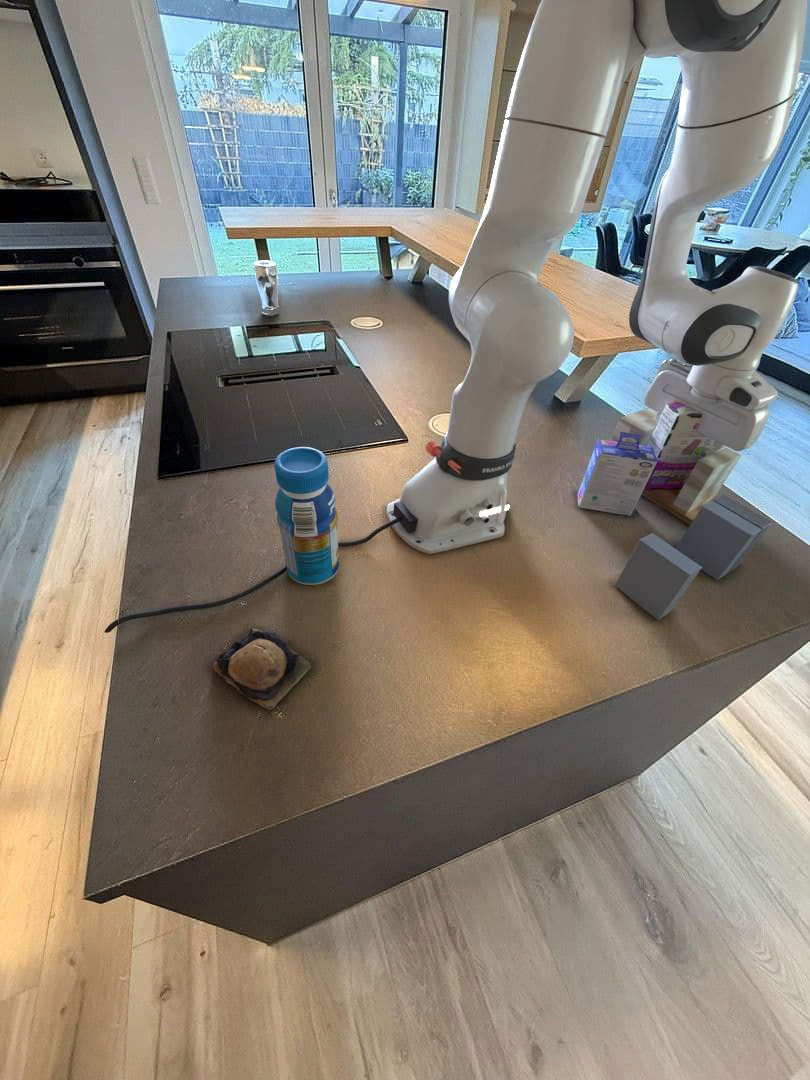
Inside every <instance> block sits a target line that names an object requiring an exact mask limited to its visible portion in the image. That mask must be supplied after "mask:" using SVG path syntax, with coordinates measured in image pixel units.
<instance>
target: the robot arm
mask: <svg viewBox="0 0 810 1080" xmlns="http://www.w3.org/2000/svg"><path fill="white" fill-rule="evenodd" d="M807 12H808V0H540V3H539V5H538V8H537V10H536V13H535V16H534V19H533V21H532V24H531V27H530V29H529V32H528V35H527V38H526V41H525V45H524V47H523V50H522V54H521V57H520V60H519V64H518V67H517V70H516V73H515V77H514V82H513V85H512V88H511V93H510V95H509V101H508V105H507V109H506V114H505V116H504V117H505V119H504V123H503V127H502V132H501V137H500V142H499V146H498V150H497V155H496V160H495V164H494V167H493V173H492V177H491V183H490V187H489V191H488V195H487V198H486V202H485V206H484V209H483V213H482V216H481V218H480V221H479V224H478V227H477V230H476V232H475V234H474V237H473V240H472V242H471V245H470V248H469V249H468V251H467V255H466V258H465V259H464V263H463V264H462V266H461V267H460V268H459V269H458V270H457V272H456V273H455V274H454V276H453V277H452V280H451V282H450V285H449V289H448V305H449V309H450V314H451V316H452V318H453V322H454V324H455V327H456V328H457V329H458V331H459V332H460V333H461V334H462V335H463V337H464V338H465V339H466V340H467V341H468V342H469V345H470V349H471V359H470V363H469V367H468V369H467V372H466V375H465V376H464V379H463V381H462V382H461V383H459V384H458V385H457V386H456V387H455V389H454V391H453V393H452V399H451V406H450V413H449V419H448V420H449V421H448V428H447V432H446V433H445V435H444V437H443V439H442V441H441V443H440V445H438V444H437V443H436V442H435V441H434V440H430V441H428V442H427V443H426V445H425V447H424V449H425V452H426V453H428V454H430V456H431V457H433V459H432V460H431V461H429V462H428V463H427V464H426V465H425V466H424V467H423V468H421V470H420V471H418V472H417V473H416V474H415V475H414V476H413V477H412V478H410V479H409V480H408V481H407V482H406V483H405V484H404V486H403V488H402V490H401V494H400V497H399V498H398V499H396V500H394V501H392V502H389V504H387V506H386V510H385V511H386V512H385V513H386V519H387V522H385V523H384V524H382V525H380V526H379V527H377V528H375V530H373V531H372V532H371V533H370V534H368V535H367V536H365V537H363V538H360V539H357V540H352V541H338V548H339V547H341V548H342V547H352V546H353V547H354V546H359V545H362V544H365V543H367V542H369V541H371V539H373V538H374V537H375V536H377V535H378V534H379V533H381V532H382V531H384V530H386V529H387V528H390V527H391V528H392V529H393V531H394V532H395V533H396V534H397V535H398V536H399V537H400V538H401V539H402V540H403V541H404V542H405V543H406V544H407V545H409V546H410V547H411V548H413V549H415V550H417V551H419V552H421V553H423V554H426V555H434V554H438V553H443V552H446V551H450V550H454V549H458V548H462V547H463V548H464V547H467V546H470V545H474V544H475V545H476V544H479V543H483V542H486V541H491V540H495V539H499V538H502V537H504V535H505V530H506V527H505V519H506V517H507V511H508V510H510V504H507V496H508V483H509V482H508V481H509V471H510V470H511V468H512V466H513V463H514V461H515V453H516V449H517V444H516V440H517V435H518V431H519V427H520V424H521V421H522V417H523V413H524V410H525V407H526V404H527V402H528V400H529V398H530V396H531V394H532V392H533V391H534V389H535V387H536V386H537V384H538V383H540V382H542V381H544V380H546V379H548V378H549V377H551V376H552V375H553V374H555V373H556V372H557V371H558V370H559V369H560V368H561V367H562V365H563V364H564V363H565V362H566V360H567V359H568V357H569V355H570V354H571V351H572V348H573V345H574V340H575V326H574V322H573V320H572V318H571V316H570V314H569V312H568V310H567V309H566V307H565V306H564V305H563V303H562V302H561V300H560V298H559V297H558V296H557V295H556V294H555V293H554V292H553V291H552V290H550V289H549V288H547V287H546V286H545V285H543V284H541V283H539V280H540V276H541V274H542V272H543V271H542V270H543V269H544V267H545V265H546V263H547V261H548V259H549V257H550V255H551V254H552V252H553V250H554V249H555V247H556V246H557V244H558V243H559V242H560V240H561V239H562V238H563V237H565V236H566V235H567V234H568V233H570V232H571V231H572V230H573V229H574V227H575V226H576V225H577V222H578V221H579V219H580V217H581V214H582V211H583V208H584V205H585V201H586V199H587V195H588V192H589V189H590V188H591V187H590V186H591V183H592V180H593V177H594V175H595V171H596V168H597V166H598V163H599V159H600V157H601V153H602V150H603V147H604V144H605V141H606V137H607V134H608V131H609V128H610V125H611V122H612V119H613V115H614V112H615V108H616V106H617V105H616V104H617V100H618V98H619V94H620V92H621V90H622V88H623V85H624V84H625V82H626V80H627V79H628V76H629V74H630V73H631V71H632V70H633V68H634V67H635V66H636V64H637V63H638V61H639V60H640V58H642V57H646V58H650V59H662V58H663V59H664V58H670V57H674V56H676V57H677V60H678V63H679V66H680V70H681V78H682V79H681V80H682V84H681V91H680V92H681V93H680V98H679V103H678V105H679V106H678V112H677V113H678V114H677V121H676V122H677V123H676V131H675V141H674V145H673V150H672V155H671V159H670V163H669V166H668V169H666V171H665V173H664V175H663V176H662V178H661V181H660V183H659V186H658V189H657V192H656V195H655V200H654V205H653V209H652V215H651V219H650V225H649V226H650V227H649V231H648V237H647V243H646V249H645V254H644V260H643V266H642V272H641V276H640V281H639V284H638V286H637V289H636V291H635V294H634V298H633V300H632V303H631V307H630V310H629V313H628V324H629V328H630V331H631V333H632V334H633V335H634V336H635V337H636V338H637V339H640V340H642V341H644V342H647V343H649V344H652V345H654V346H656V347H657V348H659V349H660V350H662V351H664V352H665V353H666V354H668V355H670V356H673V357H675V358H670V359H666V360H664V361H662V362H661V364H660V365H659V367H658V370H657V371H656V376H655V379H653V381H652V383H651V384H650V386H649V387H648V389H647V391H646V392H645V395H644V397H643V402H644V403H643V404H644V406H645V407H647V408H648V409H650V410H652V411H654V412H656V413H657V415H656V423H658V420H659V418H660V416H661V414H662V412H663V409H664V407H665V405H666V403H681V404H683V405H686V406H688V407H690V408H693V409H695V410H697V411H699V412H701V413H703V414H704V417H703V419H702V421H701V423H700V425H699V427H698V429H697V432H699V433H701V434H703V435H705V436H707V437H709V438H711V439H713V440H715V442H714V443H713V446H714V447H715V448H713V449H711V450H710V449H708V448H707V449H705V450H702V451H701V453H700V455H699V457H698V458H699V459H702V458H704V457H706V456H708V455H711V454H713V453H715V452H717V451H719V450H722V449H724V448H728V449H730V450H732V451H734V452H742V451H745V450H747V449H750V448H751V447H753V446H754V445H755V444H756V443H757V441H758V439H759V437H760V436H761V434H762V433H763V430H764V429H765V426H766V424H767V422H768V420H769V417H770V408H769V405H770V404H771V403H773V402H774V401H775V400H776V399H777V397H778V395H779V392H778V390H777V389H776V388H775V387H773V385H771V384H770V383H769V382H768V381H767V380H765V378H763V377H762V376H761V375H760V374H759V373H758V372H757V371H756V370H757V369H758V367H759V365H760V362H761V358H762V356H763V353H764V352H765V351H766V349H767V347H769V345H770V344H772V342H773V341H774V340H775V338H776V337H777V335H778V333H779V332H780V331H781V328H782V326H783V324H784V323H785V321H786V319H787V317H788V315H789V313H790V311H791V309H792V306H793V304H794V302H795V299H796V296H797V295H798V294H797V293H798V291H799V282H798V281H797V279H796V278H795V277H793V276H792V275H790V274H786V273H783V272H780V271H777V270H774V269H772V268H769V267H765V266H762V265H750V266H748V267H746V269H744V271H743V272H742V273H741V275H740V276H739V277H737V278H736V279H735V280H733V281H731V282H730V283H728V284H726V285H723V286H722V287H719V288H716V289H715V288H714V289H712V290H711V291H710V290H708V289H706V288H704V287H701V286H699V285H697V284H695V283H694V282H693V281H691V279H690V277H689V275H688V273H687V263H688V260H689V256H690V251H691V246H692V244H693V239H694V235H695V230H696V226H697V222H698V220H699V217H700V215H701V214H702V213H703V210H704V209H705V208H706V207H707V206H709V205H711V204H714V203H717V202H719V201H722V200H724V199H726V198H728V197H730V196H733V195H735V194H736V193H739V192H740V191H742V190H744V189H745V188H746V187H748V186H749V185H750V184H751V183H753V182H754V181H755V180H756V179H757V178H758V177H759V176H760V175H761V174H762V173H763V172H764V171H765V170H766V169H767V168H768V166H769V165H770V164H771V163H772V161H773V160H774V159H775V157H776V155H777V153H778V151H779V149H780V146H781V144H782V142H783V139H784V136H785V133H786V132H787V131H786V130H787V127H788V123H789V119H790V115H791V110H792V106H793V101H794V96H795V92H796V87H797V83H798V77H799V73H800V68H801V62H802V61H801V60H802V55H803V50H804V49H803V48H804V41H805V33H806V25H807V24H806V23H807V14H808V13H807ZM286 572H287V568H286V565H285V566H283V567H282V568H281V569H279V570H278V571H276V572H275V573H272V574H271V575H269V576H268V577H266V578H264V579H263V580H261V581H259V582H258V583H256V584H254V585H253V586H251V587H249V588H247V589H245V590H243V591H240V592H239V593H236V594H233V595H230V596H228V597H225V598H221V599H219V600H214V601H210V602H201V603H194V604H185V605H176V606H170V607H164V608H160V609H155V610H154V609H153V610H147V611H142V612H136V613H135V612H134V613H130V614H127V615H124V616H121V617H119V618H117V619H115V620H113V621H112V622H111V623H110V624H109V625H108V626H107V627H106V628H105V630H104V631H103V633H104V634H108V633H111V632H112V631H113V630H114V629H115V628H116V627H118V626H119V625H121V624H123V623H126V622H128V621H132V620H137V619H142V618H149V617H155V616H161V615H166V614H172V613H177V612H183V611H194V610H204V609H210V608H214V607H215V608H216V607H218V606H219V607H220V606H222V605H225V604H226V605H227V604H229V603H232V602H235V601H237V600H240V599H242V598H244V597H246V596H248V595H250V594H252V593H254V592H256V591H257V590H259V589H261V588H262V587H264V586H266V585H268V584H269V583H271V582H272V581H274V580H275V579H277V578H279V577H281V576H282V575H284V574H285V573H286ZM118 619H119V623H118Z"/></svg>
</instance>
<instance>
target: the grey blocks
mask: <svg viewBox="0 0 810 1080" xmlns="http://www.w3.org/2000/svg"><path fill="white" fill-rule="evenodd" d="M716 498H717V499H715V500H713V501H711V502H709V503H707V504H706V505H704V506H702V507H701V509H700V511H699V512H698V514H697V515H696V517H695V518H694V520H693V522H692V523H691V525H689V526H688V528H687V529H686V531H685V532H684V533H683V535H682V537H681V539H680V541H679V542H678V544H677V545H676V546H675V547H674V546H672V545H670V544H669V543H668V542H666V541H665V540H664V539H662V538H660V537H659V536H657V535H656V534H654V533H653V532H652V533H650V534H648V535H646V536H644V537H642V538H640V539H639V540H638V542H637V544H636V546H635V548H634V549H633V551H632V553H631V555H630V556H629V559H628V560H627V562H626V564H625V565H624V567H623V569H622V571H621V573H620V575H619V577H618V578H617V580H616V582H615V584H614V587H616V588H617V589H618V590H620V591H621V592H622V593H623V594H625V595H626V596H627V597H628V598H629V599H631V600H632V601H633V602H634V603H636V604H637V605H638V606H639V607H641V608H642V609H643V610H644V611H645V612H647V613H648V614H649V615H651V617H653V619H656V621H659V620H661V619H663V617H665V616H667V615H668V614H670V613H671V611H672V610H673V609H674V608H675V606H676V604H677V603H678V601H679V600H680V599H681V597H682V596H683V595H684V593H685V592H686V590H687V589H688V588H689V586H690V585H691V584H692V582H693V581H694V579H695V578H696V577H697V575H699V573H700V571H702V572H704V573H706V574H707V575H708V576H710V577H712V578H713V579H714V580H715V581H718V580H720V579H721V578H723V577H724V576H726V575H727V574H729V573H731V572H732V571H734V570H735V569H736V568H738V567H739V565H740V564H741V563H742V562H743V561H744V559H745V558H746V557H747V555H748V554H750V552H751V550H752V549H753V548H754V547H755V545H756V544H757V543H758V541H759V540H760V539H761V538H762V536H763V535H764V534H765V533H766V531H768V529H769V527H771V525H772V524H773V521H771V520H770V519H767V518H766V517H764V516H762V515H760V514H758V513H757V512H756V511H754V510H751V509H750V508H748V507H747V506H744V505H743V504H741V503H739V502H738V501H736V500H734V499H732V498H730V497H728V496H727V495H725V494H722V495H720V496H719V497H716Z"/></svg>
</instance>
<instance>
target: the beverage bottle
mask: <svg viewBox="0 0 810 1080" xmlns="http://www.w3.org/2000/svg"><path fill="white" fill-rule="evenodd" d="M274 473H275V477H276V482H277V485H278V486H279V488H278V491H277V492H276V496H275V499H274V505H275V510H276V512H277V513H276V524H277V527H278V529H279V533H280V537H281V543H282V548H283V553H284V554H283V555H284V558H285V566H286V568H287V571H286V572H287V574H288V575H289V577H290V578H291V579H292V580H293V581H294V582H296V583H298V584H301V585H305V586H317V585H321V584H325V583H327V582H328V581H330V580H331V579H333V577H335V575H336V574H337V573H338V571H339V568H340V556H339V554H340V553H339V547H338V542H339V538H338V537H339V534H338V533H339V532H338V518H339V515H338V509H337V507H336V504H337V498H336V495H335V493H334V491H333V489H332V487H331V486H330V485H329V483H328V482H329V477H330V475H329V463H328V459H327V457H326V455H325V453H323V452H322V451H320V450H319V449H316V448H313V447H307V446H299V447H293V448H289V449H286V450H284V451H282V452H281V453H279V454H278V455H277V456H276V458H275V460H274Z"/></svg>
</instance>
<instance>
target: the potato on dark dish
mask: <svg viewBox="0 0 810 1080" xmlns="http://www.w3.org/2000/svg"><path fill="white" fill-rule="evenodd" d="M212 666H213V667H212V669H213V670H214V672H215V673H218V675H219V677H222V679H223V680H225V682H226V683H227V684H229V685H230V686H233V687H234V688H235V689H236V690H237V692H238V693H239V694H242V695H243V696H244V697H245V698H248V699H249V700H250V701H251V702H254V703H256V704H257V705H259V706H261V707H262V708H264V709H266V710H268V711H270V710H271V711H272V710H273V709H275V707H276V706H277V705H278V704H279V703H280V702H281V701H282V699H283V698H285V696H286V695H288V693H289V692H290V691H291V690H292V689H293V688H294V686H296V685H297V683H299V682H300V680H302V678H304V676H305V675H306V674H307V673H308V672H309V671H310V670H311V669H312V666H311V663H310V662H308V660H306V659H305V658H304V657H302V656H301V654H300V653H297V652H296V651H294V650H293V649H292V648H291V647H290V646H289V644H288V642H287V641H286V640H284V639H282V638H281V637H280V636H279V635H278V634H277V632H275V631H273V630H266V631H262V630H259V629H257V628H251V629H250V631H249V632H248V633H246V634H245V635H244V636H243V637H242V638H240V639H239V640H234V642H233V643H232V645H230V647H228V648H227V649H226V650H224V651H222V653H220V655H218V656H217V657H216V658H215V662H213V665H212Z"/></svg>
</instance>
